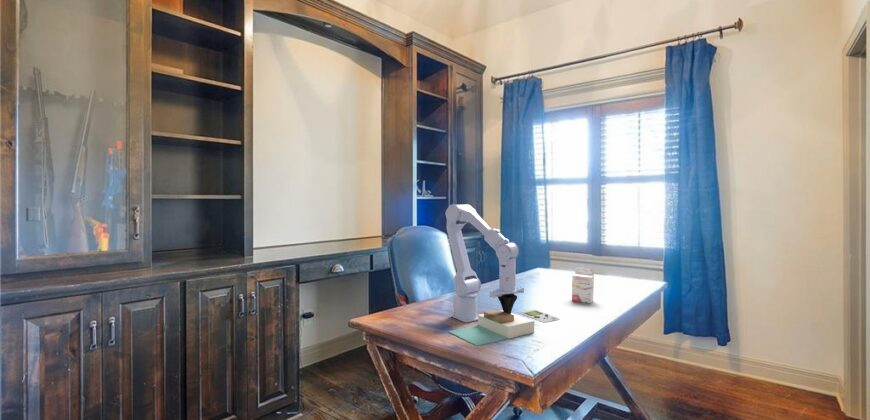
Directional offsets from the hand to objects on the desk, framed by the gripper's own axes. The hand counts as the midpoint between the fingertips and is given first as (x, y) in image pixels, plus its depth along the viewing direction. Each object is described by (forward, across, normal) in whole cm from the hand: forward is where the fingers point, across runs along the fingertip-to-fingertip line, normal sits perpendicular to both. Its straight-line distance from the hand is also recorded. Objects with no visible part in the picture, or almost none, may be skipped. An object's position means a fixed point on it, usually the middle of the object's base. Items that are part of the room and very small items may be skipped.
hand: (507, 315), depth 146 cm
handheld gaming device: (+5, +21, +5) cm, 23 cm away
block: (+1, -4, 0) cm, 4 cm away
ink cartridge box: (+5, +55, +11) cm, 57 cm away
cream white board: (+5, -1, 0) cm, 5 cm away
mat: (+5, -13, 0) cm, 14 cm away
